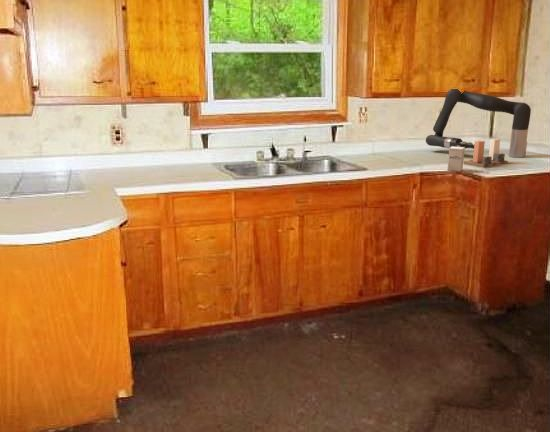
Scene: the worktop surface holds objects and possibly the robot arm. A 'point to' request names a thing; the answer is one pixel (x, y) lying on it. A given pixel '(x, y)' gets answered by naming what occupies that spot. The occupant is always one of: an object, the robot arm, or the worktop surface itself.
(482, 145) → the pink tall block
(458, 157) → the supplement box
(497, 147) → the key white
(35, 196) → the worktop surface
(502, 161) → the switch bench
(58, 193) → the worktop surface
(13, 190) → the worktop surface
